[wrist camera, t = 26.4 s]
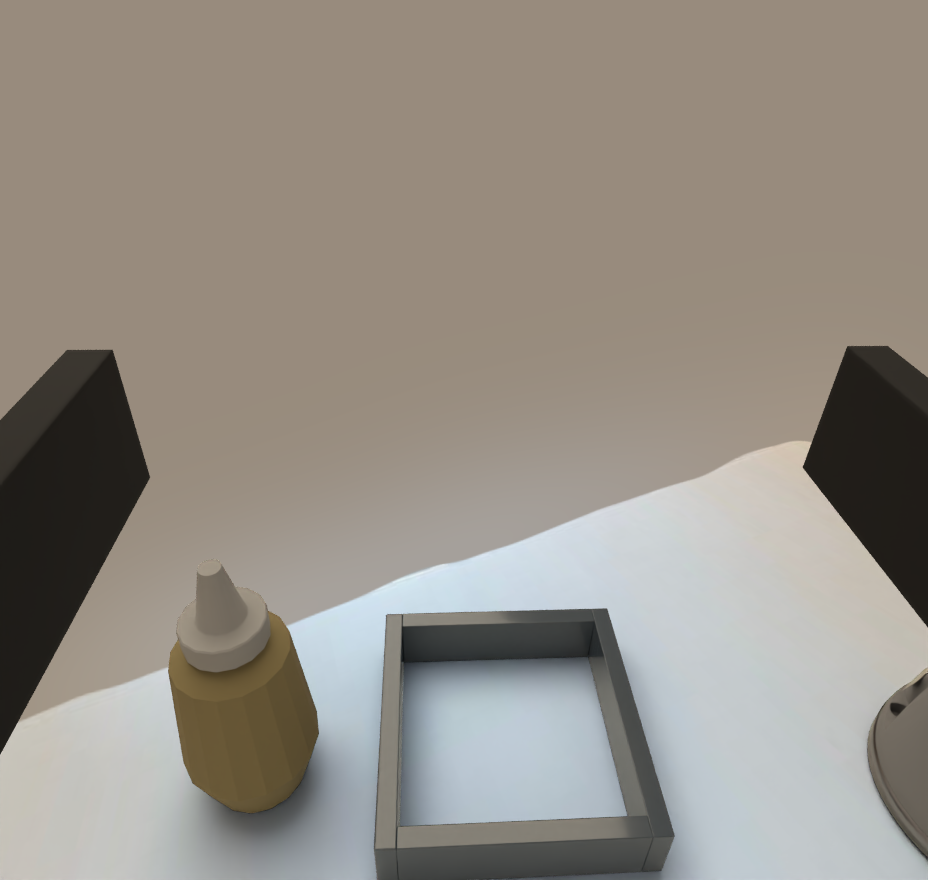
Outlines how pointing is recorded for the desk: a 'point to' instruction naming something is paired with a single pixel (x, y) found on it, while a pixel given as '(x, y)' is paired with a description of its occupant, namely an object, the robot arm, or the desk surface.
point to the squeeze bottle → (239, 696)
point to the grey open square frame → (519, 842)
